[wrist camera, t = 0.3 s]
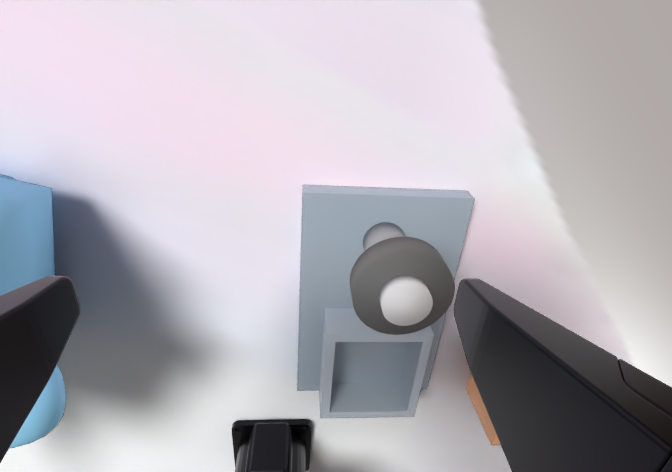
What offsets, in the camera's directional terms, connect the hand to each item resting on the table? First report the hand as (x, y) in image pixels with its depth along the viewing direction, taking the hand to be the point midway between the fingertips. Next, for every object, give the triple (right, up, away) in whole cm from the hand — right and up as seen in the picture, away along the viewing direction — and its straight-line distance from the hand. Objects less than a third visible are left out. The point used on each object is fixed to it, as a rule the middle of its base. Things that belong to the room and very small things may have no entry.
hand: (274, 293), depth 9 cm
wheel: (+5, -1, +11) cm, 12 cm away
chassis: (+4, -3, +18) cm, 18 cm away
